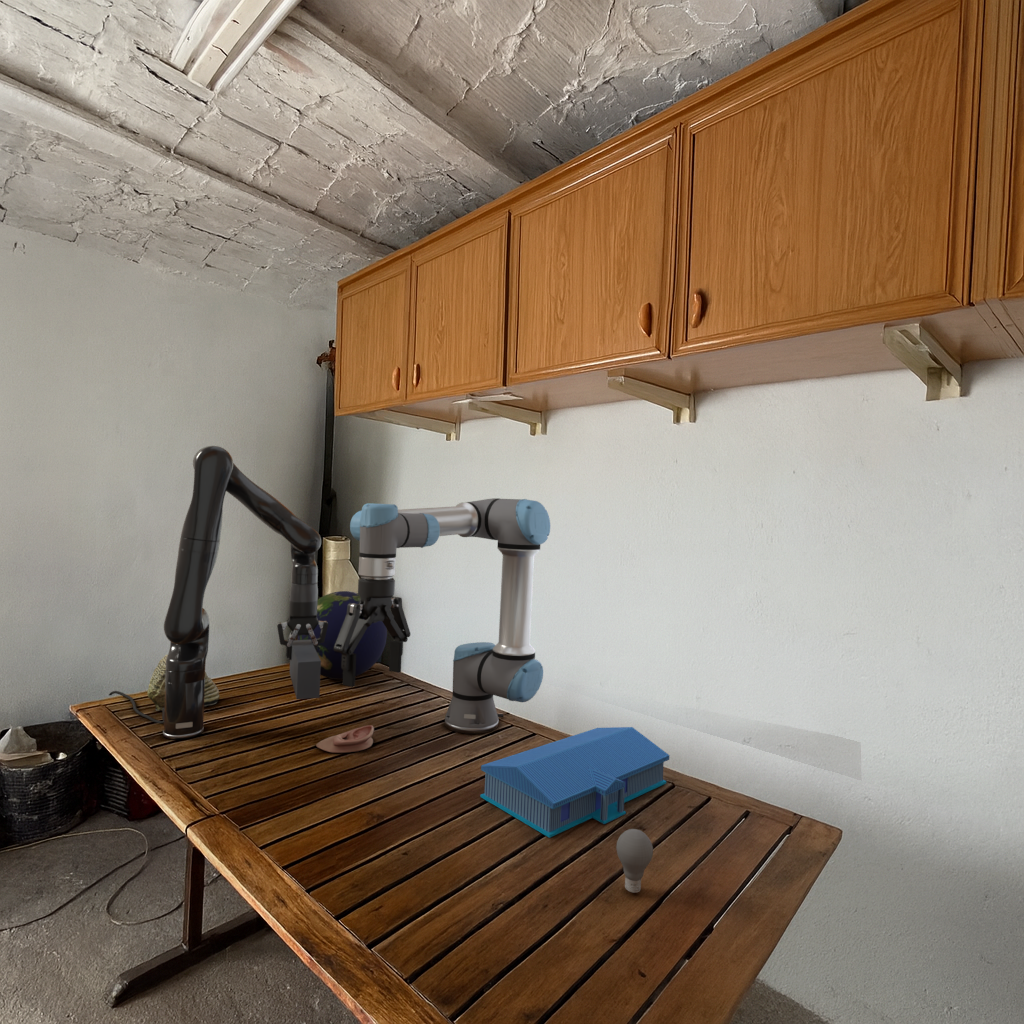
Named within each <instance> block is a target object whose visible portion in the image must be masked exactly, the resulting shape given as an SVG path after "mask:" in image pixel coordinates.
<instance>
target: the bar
mask: <svg viewBox="0 0 1024 1024" xmlns="http://www.w3.org/2000/svg"><path fill="white" fill-rule="evenodd" d="M291 646H292V658H291V660H289V677H290V680H291V683H292V687H293V691H294V695H295V698H296V700H308V699H318V698H320V696H321V695H320V694H321V693H320V692H321V675H320V671H321V660H320V658H319V656H318V654H317V652H316V650H315V647H314V645H313V643H312V641H311V640H298V639H294V641H293V643H292V645H291Z"/></svg>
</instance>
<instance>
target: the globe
mask: <svg viewBox="0 0 1024 1024" xmlns="http://www.w3.org/2000/svg"><path fill="white" fill-rule="evenodd" d="M349 603H354V604H359V603H360V596H359V595H358V592H355V591H350V590H339V591H333V592H331V593H327V594H325V595H323V596H321V597H318V604H317V619H318V621H327V622H328V628H327V632H326V636H325V641H324V643H320V644H318V645H317V654H318V656H319V658H320V660H321V671H320V676H322V677H325V678H328V679H332V680H343V670H342V668H341V663H342V654H341V653H340V652H337V651H334V649H333V648H334V645H335V643H336V640H337V638H338V635H339V632H340V630H341V627H342V625H343V622H344V620H345V617H346V614H347V607H348V604H349ZM363 619H364V618H363ZM313 633H314V635H315V637H316V639H318V638H319V637H320V633H321V628H320V625H319V624H318V625H317V626H316V628H315V629H314V630H313ZM387 638H388V630H387V628H386V627H385V625H384V623H383V622H382V621H378V622H376V623H372V624H371V625H370V626H369V627H367V629H366V631H365V633H364V634H363V636H362V638H361V640H360V641H359V643H358V645H357V647H356V648H355V650H354V652H353V653H354V654H356V673H355V677H358V676H360V675H363V674H364V673H366V672H367V671H369V670H370V669H371V668H372V667H373V666H374V665H375V664H376V663H377V662H378V661H379V659H380V657H381V656H382V654H383V653H384V650H385V647H386V644H387ZM297 640H311V637H310V635H300V636H297ZM311 641H312V640H311ZM341 646H342V645H341ZM349 647H350V646H349ZM349 647H348V648H349Z"/></svg>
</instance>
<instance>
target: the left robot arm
mask: <svg viewBox="0 0 1024 1024" xmlns="http://www.w3.org/2000/svg"><path fill="white" fill-rule="evenodd" d="M192 467H193V470H194V471H193V472H194V473H193V489H192V496H191V501H190V503H189V507H188V509H187V512H186V515H185V517H184V520H183V525H182V528H181V533H180V538H179V545H178V550H177V558H176V565H175V572H174V573H175V574H174V583H173V589H172V595H171V598H170V602H169V604H168V609H167V611H166V615H165V618H164V622H163V632H164V635H165V637H166V638H167V640H168V641H169V642H170V643H169V644H170V645H169V650H168V654H167V655H168V656H167V659H166V674H165V705H164V708H163V709H162V711H161V713H162V715H161V716H162V717H161V721H160V720H157V719H156V718H153V717H152V716H150V715H147V714H145V713H144V712H142V711H140V710H139V709H138V708H137V704H136V701H135V700H134V698H133V697H132V696H130V695H128V694H126V693H124V692H122V691H119V690H112V691H111V692H110V693H108V696H112V695H114V694H116V695H120V696H122V697H124V698H125V699H128V700H129V701H130V702H131V705H132V709H133V711H134V712H135V713H136V714H137V715H139V716H140V717H143V718H145V719H147V720H149V721H151V722H153V723H157V724H161V725H162V724H163V730H162V737H164V738H166V739H169V740H185V739H190V738H191V739H192V738H194V737H197V736H199V735H202V734H203V732H204V730H205V729H204V727H205V725H204V722H205V721H204V718H205V706H204V693H205V672H206V664H207V663H206V662H207V656H208V653H209V652H208V651H209V642H210V640H209V639H210V617H209V614H208V612H207V610H206V609H205V608H204V607H203V606H204V597H205V592H206V589H207V586H208V583H209V580H210V578H211V576H212V575H213V571H214V569H215V565H216V562H217V559H218V555H219V549H220V543H221V535H222V526H223V511H224V502H225V496H226V493H228V494H229V495H230V496H232V497H233V498H235V499H236V500H237V501H238V502H239V503H241V504H242V505H243V506H244V507H245V508H246V509H247V510H248V511H249V512H251V513H252V515H254V516H255V517H256V518H257V519H258V520H260V522H262V523H263V524H264V525H266V527H268V528H269V529H271V530H272V531H273V532H275V533H276V534H278V535H280V536H282V538H284V539H285V540H286V541H288V542H289V543H290V558H291V575H290V576H291V577H290V578H291V579H290V589H289V596H288V598H289V606H288V607H289V608H288V619H287V620H286V621H284V622H281V621H278V622H277V623H276V628H277V634H278V640H279V644H280V645H281V646H285V656H286V658H287V659H288V661H290V660H291V658H292V646H291V645H292V643H293V641H294V640H296V637H298V636H300V635H310V637H311V640H312V643H313V645H314V647H315V650H316V652H317V645H318V644H320V643H324V641H325V636H326V632H327V628H328V622H327V621H318V619H317V604H318V599H319V588H318V587H319V586H318V576H319V569H318V568H319V567H318V565H317V562H316V552H318V551H319V549H320V548H321V545H322V537H321V535H320V534H319V532H318V531H316V529H314V528H313V527H312V526H311V525H309V524H308V523H306V522H305V521H303V520H302V519H301V518H299V517H297V515H296V514H294V513H293V512H292V511H291V510H290V509H289V508H288V507H287V506H285V505H284V504H283V503H282V502H281V501H280V500H278V499H277V498H276V497H274V496H273V495H272V494H271V493H269V492H268V491H266V490H264V489H263V488H262V487H260V486H259V485H257V484H256V483H255V482H253V481H252V480H251V479H250V478H249V477H248V476H246V474H244V473H243V472H242V471H241V470H240V469H239V467H237V466H236V464H235V463H234V460H233V457H232V455H231V453H230V452H229V451H228V450H226V448H224V447H221V446H220V445H219V446H218V445H207V446H205V447H202V448H200V449H199V450H198V451H196V453H195V454H194V456H193V460H192ZM318 624H319V625H320V628H321V633H320V637H319V638H318V639H316V637H315V635H314V633H313V630H314V629H315V628H316V626H317V625H318ZM286 627H288V628H289V629H290V631H291V632H290V633H289V635H288V637H287V639H285V636H284V635H285V634H284V631H285V630H286Z"/></svg>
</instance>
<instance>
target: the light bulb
mask: <svg viewBox="0 0 1024 1024" xmlns="http://www.w3.org/2000/svg"><path fill="white" fill-rule="evenodd" d="M615 849H616V854H617V857H618V859H619V861H620V863H621V865H622V867H623V873H624V874H623V875H624V876H625V878H624V888H625V890H627V891H628V892H630V893H634V894H635V893H639V892H640V891H641V889H642V887H641V886H642V879H643V877H644V875H645V871H646V868H647V867H648V866H649V864H650V863H651V861H652V859H653V855H654V847H653V843H652V841H651V838H649V836H648V835H647V834H646V833H645V832H643V831H642V830H641V829H636V828H629V829H627V830H625V831H623V832H622V833H621V834H620V835H619V837H618V839H617V841H616V847H615Z"/></svg>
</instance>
